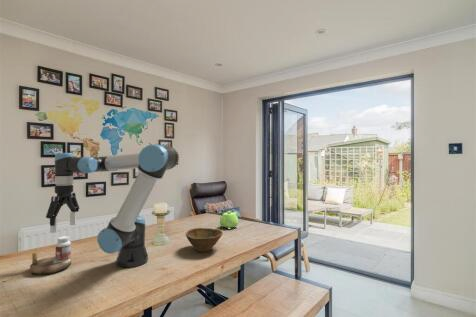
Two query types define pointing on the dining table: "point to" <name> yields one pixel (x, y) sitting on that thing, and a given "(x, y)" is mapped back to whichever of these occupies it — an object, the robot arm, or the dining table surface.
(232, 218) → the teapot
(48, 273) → the susan base
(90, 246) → the dining table surface
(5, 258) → the dining table surface
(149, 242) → the dining table surface
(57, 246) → the pill bottle
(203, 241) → the bowl
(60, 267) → the disc
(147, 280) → the dining table surface
